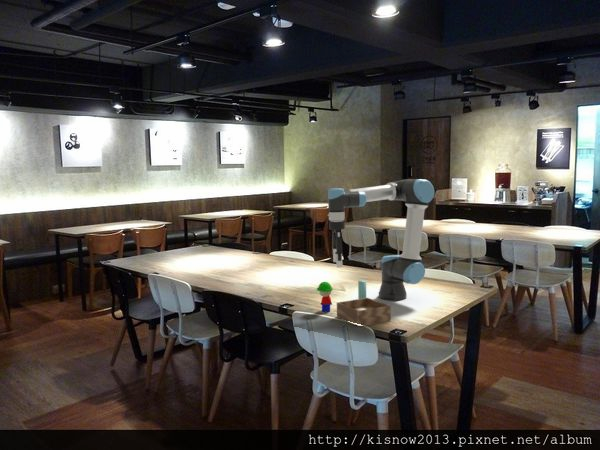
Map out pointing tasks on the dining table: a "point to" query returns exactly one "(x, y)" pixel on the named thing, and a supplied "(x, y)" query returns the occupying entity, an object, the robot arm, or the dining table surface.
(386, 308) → the caddy
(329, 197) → the robot arm
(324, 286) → the toy
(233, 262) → the dining table surface
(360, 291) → the peg
